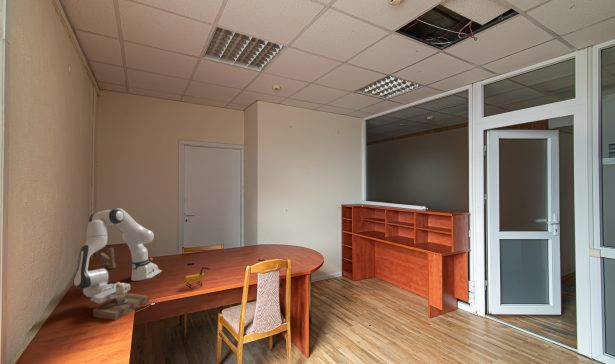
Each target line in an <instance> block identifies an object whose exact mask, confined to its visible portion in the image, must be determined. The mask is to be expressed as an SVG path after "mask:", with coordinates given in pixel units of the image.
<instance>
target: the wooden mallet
mask: <svg viewBox="0 0 615 364" xmlns="http://www.w3.org/2000/svg"><path fill="white" fill-rule="evenodd" d="M114 252H115V250H114V247H110V248H108V255H107V254H106V253H105V252H100V264H101V265H100V266H101V269H102V268H104V269H106V270H107V269H108V270H109V269H110V270H111V269H115V268H117V264H116V263H115V261H116V260H115V253H114Z"/></svg>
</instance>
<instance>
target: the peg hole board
mask: <svg viewBox="0 0 615 364" xmlns="http://www.w3.org/2000/svg"><path fill="white" fill-rule="evenodd" d="M125 299H129V301H128V302H127V303H126V304H123V305H119V306H115V305H114V303H115V302H116V301H117V298H113V299H111V300H110V301H108V302H106V303H105V304H102V305H99V306H98V307H96V308H94V309H92V312H93V313H92V315H93V317H96V318H100V319H101V318H102V319H106V320H107V319H108V320H112V321H117V320H119V319H120V318H122V317H124V316H126V315H127V314H130V313H131V312H133V311H135V310H137V309H138V308H141V307H142V306H144V305H146V304H147V303H149V302H150V301H149V296H148V295H144V294H138V293H131V292H127V293H126V294H125Z"/></svg>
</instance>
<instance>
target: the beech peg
mask: <svg viewBox="0 0 615 364" xmlns="http://www.w3.org/2000/svg"><path fill="white" fill-rule="evenodd" d="M124 283H125V282H120V283H119V284H116V294H118V295H119V297H118V298H117V301H116V302H115V303H114V305H115V306H119V305H123V304H126V303H127V302H128V301H129V299H125V287H124Z"/></svg>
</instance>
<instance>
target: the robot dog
mask: <svg viewBox="0 0 615 364" xmlns="http://www.w3.org/2000/svg"><path fill="white" fill-rule="evenodd" d="M203 270H208V271H209V270H211V268H210V267H205V266H202V267H201V270H200V272H199V273H197V274H191V275H186V276H185V280H184V284H183V285H184V286H186V287H187V288H190V289H192V286H193V285H192V284H190V283H189V282H190V281H193V280H195V282H194V283H195V284H197V285H198V286H200V287H202V286H203V283H202V282H201V281H200V280H201V279H204V277H205V273H203Z"/></svg>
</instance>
